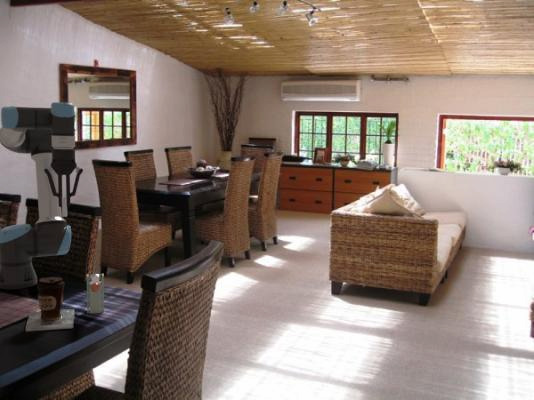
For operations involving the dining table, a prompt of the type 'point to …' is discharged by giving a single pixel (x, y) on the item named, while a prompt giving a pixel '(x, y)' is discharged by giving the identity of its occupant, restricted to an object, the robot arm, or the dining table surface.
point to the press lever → (95, 282)
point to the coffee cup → (50, 297)
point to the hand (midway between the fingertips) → (64, 216)
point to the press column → (95, 297)
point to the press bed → (50, 321)
